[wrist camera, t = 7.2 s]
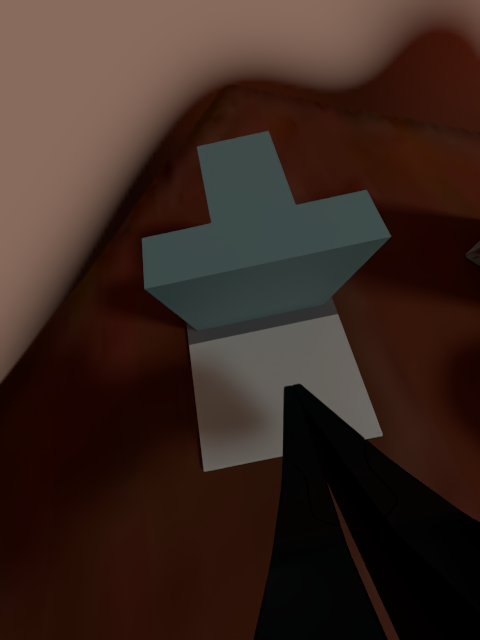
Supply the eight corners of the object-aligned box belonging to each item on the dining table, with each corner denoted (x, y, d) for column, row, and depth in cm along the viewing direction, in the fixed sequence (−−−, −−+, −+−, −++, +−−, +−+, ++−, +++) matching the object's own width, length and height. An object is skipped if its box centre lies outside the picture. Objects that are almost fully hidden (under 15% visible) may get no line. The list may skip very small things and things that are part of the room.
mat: (380, 434, 14) (383, 435, 14) (204, 469, 15) (203, 471, 14) (302, 222, 21) (302, 220, 20) (178, 248, 21) (177, 247, 20)
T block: (323, 304, 17) (391, 236, 9) (198, 330, 18) (144, 289, 9) (296, 228, 20) (328, 117, 11) (187, 251, 20) (137, 159, 12)
